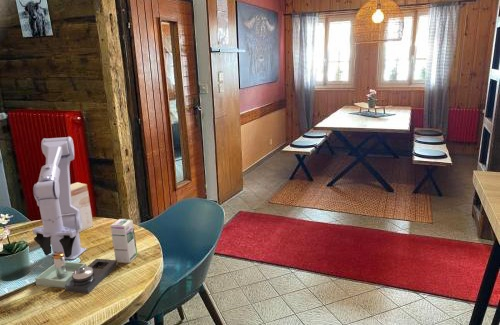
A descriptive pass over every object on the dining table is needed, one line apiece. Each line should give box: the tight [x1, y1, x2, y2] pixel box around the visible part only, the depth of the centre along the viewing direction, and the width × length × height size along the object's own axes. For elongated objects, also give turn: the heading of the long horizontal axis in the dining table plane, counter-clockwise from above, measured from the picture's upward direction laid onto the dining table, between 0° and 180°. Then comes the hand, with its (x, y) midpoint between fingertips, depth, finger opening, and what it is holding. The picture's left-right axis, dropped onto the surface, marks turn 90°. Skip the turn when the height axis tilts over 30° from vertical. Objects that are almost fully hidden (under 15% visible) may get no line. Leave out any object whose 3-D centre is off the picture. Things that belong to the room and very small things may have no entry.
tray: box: [34, 261, 87, 289], centre depth 128 cm, size 11×11×2 cm
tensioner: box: [64, 258, 118, 294], centre depth 127 cm, size 8×17×6 cm, turn 168°
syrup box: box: [109, 218, 138, 264], centre depth 138 cm, size 6×6×14 cm
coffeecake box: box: [61, 181, 94, 233], centre depth 161 cm, size 15×7×20 cm, turn 150°
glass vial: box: [52, 252, 67, 279], centre depth 128 cm, size 3×3×8 cm
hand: (58, 255), depth 127 cm, fingers open, 7 cm apart
